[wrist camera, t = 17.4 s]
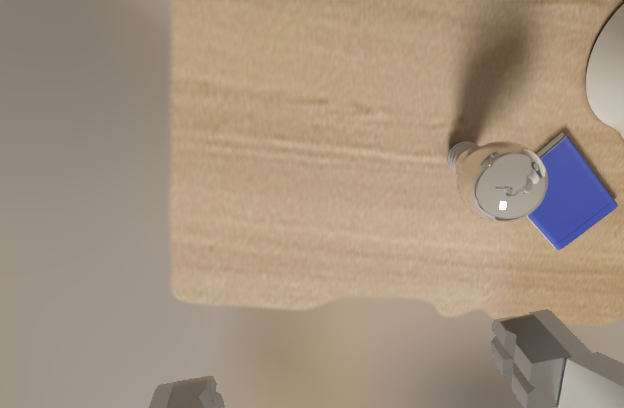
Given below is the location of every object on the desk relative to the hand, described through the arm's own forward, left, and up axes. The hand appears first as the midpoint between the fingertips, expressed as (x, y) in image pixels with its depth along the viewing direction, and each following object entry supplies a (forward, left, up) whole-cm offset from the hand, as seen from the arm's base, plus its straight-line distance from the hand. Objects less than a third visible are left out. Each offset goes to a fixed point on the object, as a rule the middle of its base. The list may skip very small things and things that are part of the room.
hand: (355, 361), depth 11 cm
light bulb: (-16, +6, -29) cm, 34 cm away
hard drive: (-28, +13, -30) cm, 43 cm away
